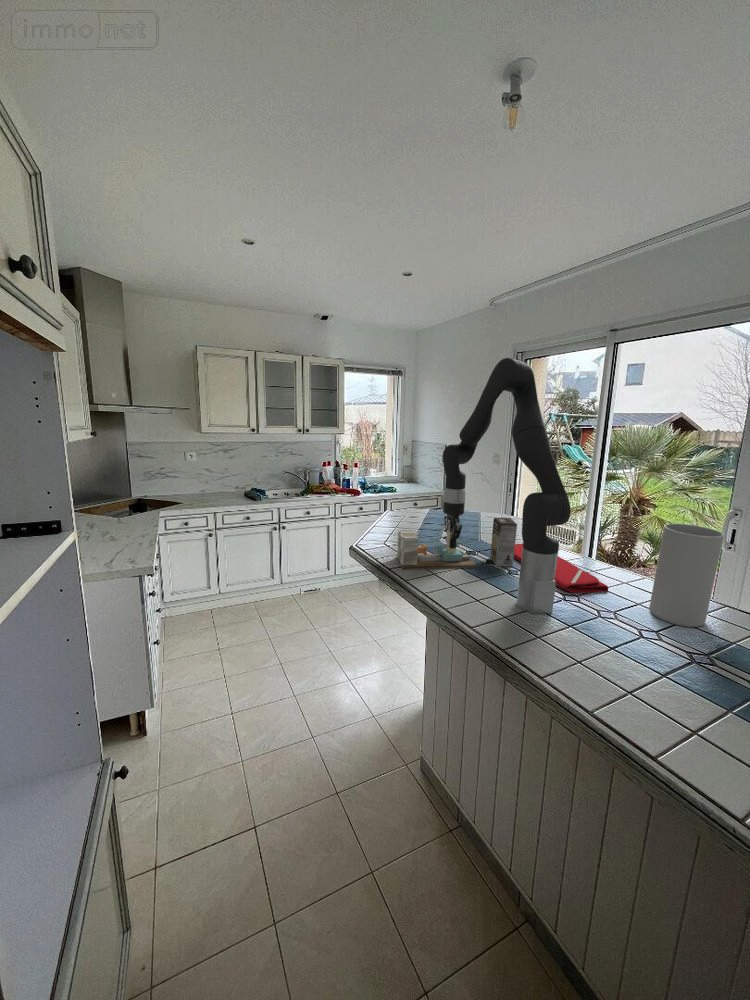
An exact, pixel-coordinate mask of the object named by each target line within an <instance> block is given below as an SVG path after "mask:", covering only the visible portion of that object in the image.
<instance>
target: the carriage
mask: <svg viewBox="0 0 750 1000" xmlns="http://www.w3.org/2000/svg"><path fill="white" fill-rule="evenodd" d="M446 533H447V534H446V546H445V547H446V548H444V546H443V545H442V544H435V549H434V552H435V554H439V555H441V556H442V557H443V559H442V560H443V561H462V558H463V554H464V553H463V552H461V551H460V550H459V549H458V548H457V547H456V548H450V532H449V530H447V532H446ZM457 539H458V538H457ZM457 539H456V544H457V542H458V541H457Z"/></svg>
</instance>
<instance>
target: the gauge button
mask: <svg viewBox="0 0 750 1000" xmlns="http://www.w3.org/2000/svg"><path fill="white" fill-rule="evenodd" d="M418 554H424V555H427V554H428V546H427V545H426V544H425V543H423V544H422V545H418Z"/></svg>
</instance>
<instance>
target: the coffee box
mask: <svg viewBox="0 0 750 1000" xmlns="http://www.w3.org/2000/svg"><path fill="white" fill-rule="evenodd" d="M517 529H518V524H517V523H516V522H515V521H514V520H513V519H512V518H511V517H493V524H492V535H491V536H492V537H491V544H490V545H491V548H490V559H491V560H492V562H493V563H494V565H495V566H497V567H513V566H514V559H515V558H514V549H515V545H516V538H517Z"/></svg>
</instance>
